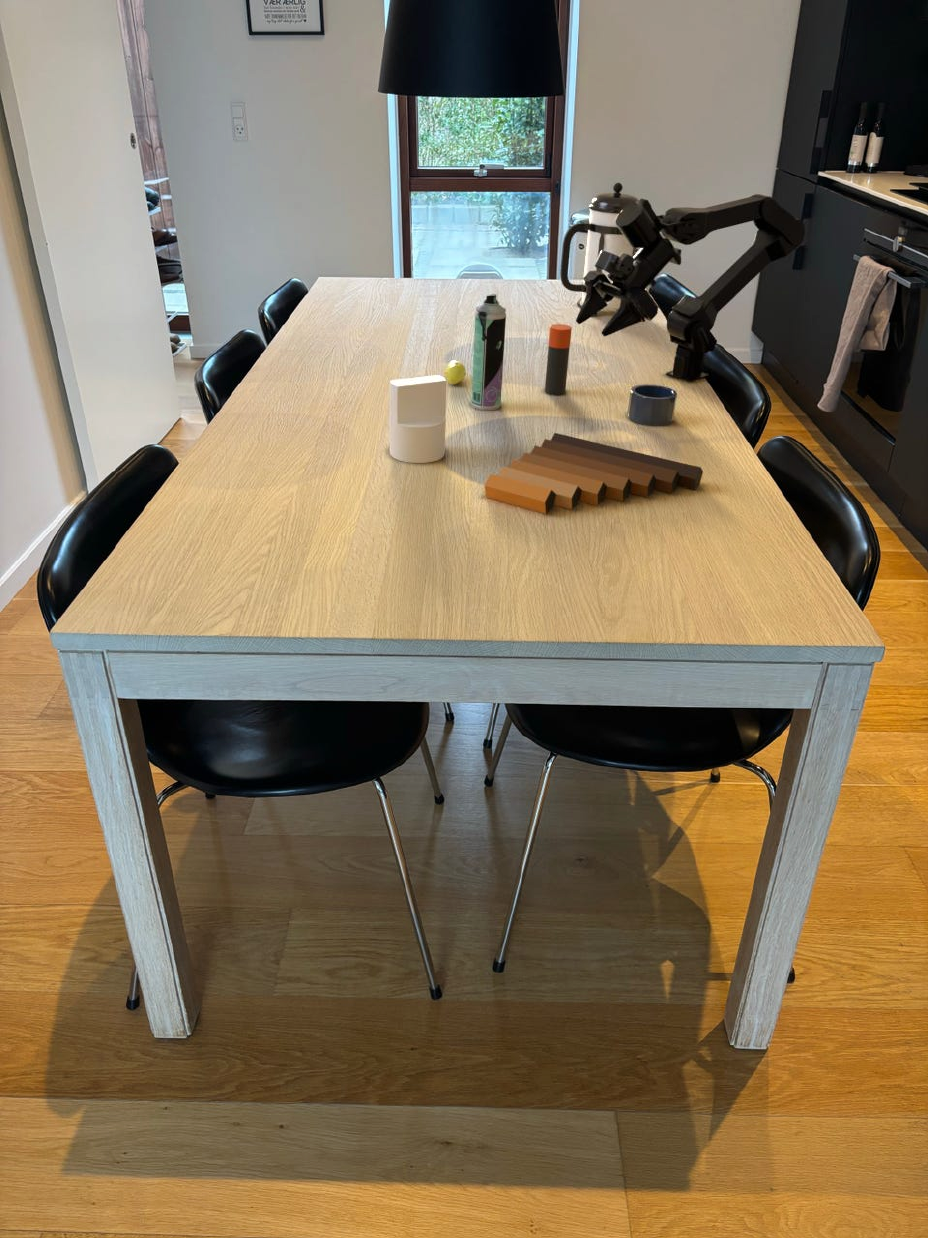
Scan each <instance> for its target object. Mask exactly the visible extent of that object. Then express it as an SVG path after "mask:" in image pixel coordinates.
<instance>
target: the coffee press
mask: <svg viewBox="0 0 928 1238" xmlns="http://www.w3.org/2000/svg"><path fill="white" fill-rule="evenodd" d="M612 189H613V192H607V193H606V192H604V193H600V194H597V195H596V196H594V197H593V198H592V200H591V202H590V203H589V204H588V209H589V219H588V220H587V222H577V223H574V224H572V225H571V226H570V227H569V228H568V229H567V231H566V232H565V234H564V236H563V241H562V248H561V259H560V269H559V271H560V272H559V278H560V282H561V284H562V286H563V288H564V289H566V290H568V291H570V292H575V293H576V292H577V293H581V297H580V299H579V300H578V301H577V302H576V307H578V308H581V307H582V305H581V302H582V304H583V303H584V300H585V297H586V287H585V285H584V284H585V281H584V280H583V281H582V283H581V284H580V283H579V284H578V283H577V284H576V283H575V284H574V283H572V282H571V281H570V280H569V265H570V256H571V255H570V254H571V245H572V240H573V238H574V236H575V234H577V233H578V232H583V231H587V240H586V249H585V261H584V271H583V278H584V277H585V276H586V274H587V273H588V272H589V271H598V272H600V273H603V274H605V276H606V277H607V278H608V276H607V275H608V274H609V273H608V272H606V271H604V270H602V269H601V268H597V267H595V266H594V265H595V263H596V261H597V259H598V257H599V255H600V253H601V251H602V250H604V251H607V252H610V253H612V254H614V255H617V256H620V255H622V254H623V253H625V254H628V255H630V256H632V257H634V256H635V254H636V251H637V248H633V247H632V246H631V245H630V244H629V242H628V241H627V239H626V238H625V236H624V235H623V234H622V232H621V231H620V229H619V228H618V226H617V225H616V218H617V216H618V215H619V213H620V212H621V211H622V210H623V209H626V208H627V207H628V206H630V205H632V204H634V203H637V202H638V201H639V200H640V199H638V198H637V197H636V196H634V195H631V194H627V193H621V192H622V190H623V189H624V187H623V185H622V183H621V182H615V183H614V184H613V186H612ZM608 280H609V281H610V282H611V284H612V283H613V282H612V280H610V279H609V278H608ZM620 302H621V300H620V299H618V298H616V297H614V298H613V299H612V300H611V301H609V302H607V306H606V307H605V308H603V309H602V310H604V311H614V310H615V311H617V310H618V309H619V307H620ZM598 313H599V312H597V313H596V314H595V315H593V316H592V317H596V316H597V315H598Z"/></svg>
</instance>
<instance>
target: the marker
mask: <svg viewBox="0 0 928 1238" xmlns="http://www.w3.org/2000/svg"><path fill="white" fill-rule="evenodd" d="M572 328H573V327H572V326H571V325H568V324H562V323H555V324H550V325H549V334H548V343H547V344H548V345H547V346H548V348H547V360H546V370H545V381H544V392H545V393H546V394H548V395H553V396H561V395H565V394H566V389H567V388H566V387H567V378H568V368H569V359H570V358H569V357H570V348H571V340H572V330H573V329H572Z"/></svg>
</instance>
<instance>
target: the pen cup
mask: <svg viewBox="0 0 928 1238" xmlns="http://www.w3.org/2000/svg"><path fill="white" fill-rule="evenodd" d="M629 391H630V392H629V398H628V406H627V419H628V420H630V421H631V422H633V423H636V424H640V425H644V426H650V427H651V426H652V427H661V426H667V425H670V424H671V423H672V422H673V420H674V417H675V410H676V404H677V398H678V393H677V391H676V390H675V389H673V388H671V387H668V386H664V385H660V384H646V383H645V384H637V385H634V386H632V387H631V388H630V390H629Z"/></svg>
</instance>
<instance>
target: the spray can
mask: <svg viewBox="0 0 928 1238" xmlns="http://www.w3.org/2000/svg"><path fill="white" fill-rule="evenodd" d="M506 312H507V308H505V307H503V306H502V305H501V304H500V302H499V301H498V300H497V294H494V293H492V294H489V295H486V299H484V301H483V302H482V303H481V304H480V305H479V306H476V308H475V313H474V332H473V351H472V352H473V353H472V354H473V355H472V376H471V377H472V378H471V379H472V380H471V399H470V406H471V407H472V408H474V409H477V410H480V411H481V410H482V411H494V410H498V409H500V408H501V403H502V390H503V389H502V388H503V375H504V374H503V371H504V355H505V342H506V341H505V337H506V322H507V313H506Z"/></svg>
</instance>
